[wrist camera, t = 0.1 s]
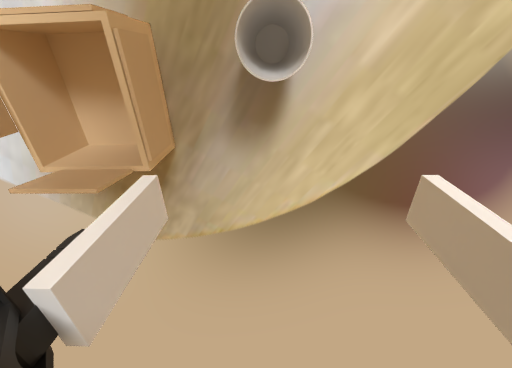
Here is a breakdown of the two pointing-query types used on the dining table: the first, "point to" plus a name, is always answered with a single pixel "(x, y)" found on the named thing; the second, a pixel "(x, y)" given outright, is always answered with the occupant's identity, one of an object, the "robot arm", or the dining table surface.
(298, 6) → the cup
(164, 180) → the dining table surface
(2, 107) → the side flap
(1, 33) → the carton
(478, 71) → the dining table surface
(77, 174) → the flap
